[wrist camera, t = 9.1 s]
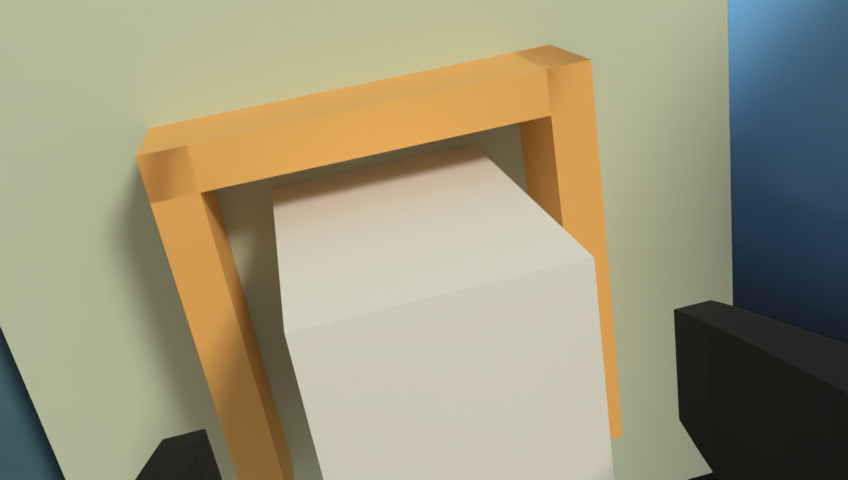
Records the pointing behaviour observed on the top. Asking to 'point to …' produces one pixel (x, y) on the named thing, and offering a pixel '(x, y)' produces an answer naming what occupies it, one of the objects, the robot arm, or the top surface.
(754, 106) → the top surface
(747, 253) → the top surface
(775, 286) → the top surface
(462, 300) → the chute block
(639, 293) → the deck
